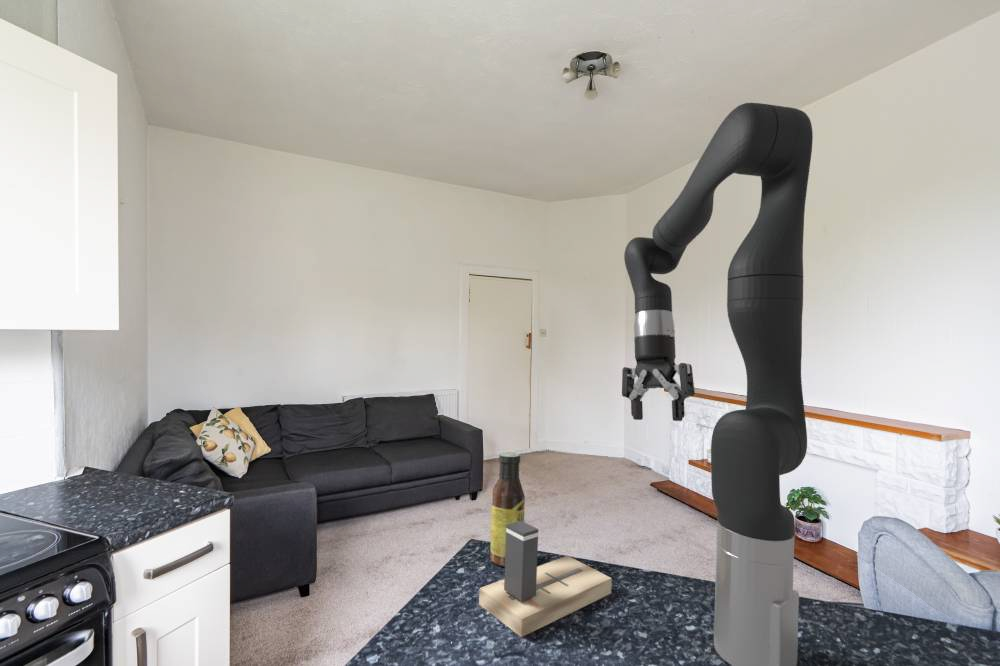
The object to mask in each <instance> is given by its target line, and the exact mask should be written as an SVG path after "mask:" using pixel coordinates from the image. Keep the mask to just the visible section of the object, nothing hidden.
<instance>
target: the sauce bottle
mask: <svg viewBox="0 0 1000 666" xmlns="http://www.w3.org/2000/svg"><path fill="white" fill-rule="evenodd" d="M498 462H499V473H498V477H499V478H498V480H497V481H496V483H495V484H494V487H493V488H492V503H491V515H490V516H491V519H490V521H491V522H490V555H489V556H490V560H491V562H492V563H494V564H495V565H497V566H500V567H505V551H506V525H507V524H511V523H515V522H518V521H523V522H525V507H526V506H525V505H526V504H525V503H526V501H525V500H526V495H525V492H524V490H523V487H522V482H521V480H520V463H521V454H520V453H516V452H512V451H511V452H510V451H509V452H507V451H506V452H501V453H498Z"/></svg>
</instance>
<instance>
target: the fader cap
mask: <svg viewBox="0 0 1000 666" xmlns="http://www.w3.org/2000/svg"><path fill="white" fill-rule="evenodd" d="M538 547H539V529H538V528H537V527H535V526H534V525H533V526H532V525H531V524H529V523H526V522H525V521H524V522H523V521H518V522H515V523H511V524H507V525H506V551H505V566H504V590H505V591H507V592H508V593H509V594H511V595H512V596H514V597H515V598H517V599H518V600H520V601H524V600H526V599H528V598H531V597H533V596H535V595H536V579H537V567H538V549H539V548H538Z"/></svg>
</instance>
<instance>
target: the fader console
mask: <svg viewBox="0 0 1000 666" xmlns="http://www.w3.org/2000/svg"><path fill="white" fill-rule="evenodd" d="M612 581H613V579H612V577H610V576H608V575H606V574H604V573H602V572H600V571H599V570H597V569H594V568H592V567H591V566H588V565H587V564H585V563H583V562H581V561H580V560H577V559H575V558H573V557H572V556H570V555H565V556H563V557H560V558H557V559H554V560H551V561H548V562H546V563H544V564H540V565H537V579H536V595H535V596H533V597H531V598H528V599H526V600H524V601H520V600H518V599H517V598H515V597H514V596H512V595H511V594H509V593H508V592H507V591H505V590H504V579H500V580H498V581H495V582H493V583H490V584H487V585H485V586H482V587H479V591H478V592H479V593H478V605H479V606H480V607H482V608H483V609H484V610H486V612H488V613H489V614H491V615H492V616H493V617H494V618H496V619H497V620H498V621H500V622H501V623H502V624H504V625H505V626H506V627H508V628H509V629H510V630H511V631H512V632H514V633H515V634H516V635H517V636H519V637H520V638H523V637H525V636H526V635H529V634H531V633H533V632H535V631H537V630H539V629H541V628H544V627H545V626H547V625H550V624H551V623H554V622H556V621H558V620H559V619H562V618H564V617H566V616H568V615H570V614H571V613H575V612H576V611H578V610H580V609H582V608H584V607H586V606H589V605H591V604H592V603H595V602H597V601H599V600H601V599H603V598H605V597H607V596H609V595H611V594H612V586H613V585H612Z"/></svg>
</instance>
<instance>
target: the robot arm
mask: <svg viewBox="0 0 1000 666" xmlns="http://www.w3.org/2000/svg"><path fill="white" fill-rule="evenodd" d="M813 135H814V134H813V126H812V122H811V119H810V117H809V115H807V113H806V112H804V111H803V110H801V109H798V108H795V107H791V106H790V107H789V106H782V105H776V104H767V103H761V102H760V103H758V102H745V103H742V104H740V105H738V106H737V107H735V108H733V109H732V110H731V111H730V112H729V113H728V115H727V116H725V118H724V119H723V121H722V122H721V124H720V125H719V127H718V128H717V129H716V131H715V132H714V134H713V136H712V137H711V139H710V141H709V143H708V144H707V146H706V148H705V150H704V152H703V154H702V155H701V157H700V158H699V160H698V161H697V164H696V165H695V168H694V169H693V170H692V172H691V175H690V176H689V178H688V180H687V182H686V184H685V185H684V187H683V188H682V190H681V191H680V194H678V197H677V198H676V199H675V200H674V202H673V203H672V204H671V205H670V206H669V207H668V209H667V210H666V211H665V212H664V213H663V215H662V216H661V217H660V219H658V221H656V224H655V225H654V227H653V228H652V229H653V230H652V237H645V236H644V237H643V236H639V237H634V238H632V239H631V240H630V241H629V242H628V243H627V245H626V247H625V250H624V255H623V257H624V258H623V259H624V265H625V268H626V272H627V275H628V277H629V281H630V284H631V289H632V290H633V295H634V323H633V332H634V333H633V335H634V337H633V338H634V339H633V341H634V359H635V361H636V366H635V367H627V366H626V367H623V368H622V372H621V373H622V374H621V375H622V377H621V380H622V381H621V396H622V398H623V397H624V398H627V399H628V400H630V411H631V413H630V414H631V416H632V419H633V420H634V421H635V420H637V421H639V420H641V421H642V420H643V419H644V418H643V417H644V415H643V410H644V409H643V400H642V398H643V397H644V396H645V394H646V393H647V392H648V391H650V389H657V388H658V389H664V390H665V391H667V392H668V393H669V395H670V396H671V397H672V399H673V400H671V412H672V414H671V415H672V420H673V421H674V422H682V421H683V419H684V418H685V416H686V414H685V413H686V412H685V411H686V409H685V400H686V399H687V398H690V397H694V396H695V394H696V393H695V383H694V376H693V375H694V373H693V367H692V364H690V363H685V362H680V363H679V364H676V362H675V361H676V360H675V359H676V357H677V356H676V337H675V333H676V331H675V322H674V316H673V298H672V289H671V287H670V286H669V284H667V283H664V282H661V281H658V280H657V279H655V278H654V277H653V276H652V274H654V275H667V274H669V273H672V272H673V271H675V270H676V268H677V267H678V265H679V263H680V261H681V260H682V257H683V255H684V253H685V251H686V248H687V247H688V246H689V244H691V243H692V242H693V241H694V240H695V238H696V237H697V236H699V235H700V234H701V233H702V232H703V231H704V229H706V227H707V226H708V225H709V222H710V220H711V218H712V215H713V212H714V211H713V210H714V209H713V208H714V197H715V191H716V189H717V188H718V187H719V186H720V184H722V182H724V181H725V180H726V179H727V178H729V177H730V176H731V175H733V174H737V175H745V176H751V177H752V176H753V177H760V181H761V195H760V196H761V198H760V206H759V209H758V214H757V217H756V220H755V222H754V224H753V225H752V226H751V228H750V230H749V232H748V233H747V234H746V236H745V237H744V239H743V240H742V242H741V243H740V245H739V246H738V248H737V250H736V251H735V252H734V255H733V256H732V259H731V261H730V263H729V265H728V270H727V271H728V272H727V287H726V288H727V289H726V291H727V292H726V293H727V295H726V296H727V297H726V309H727V310H726V311H727V318H728V321H729V324H730V325H729V326H730V329H731V331H732V334H733V336H734V338H735V342H736V344H737V347H738V349H739V352H740V354H741V357H742V359H743V362H744V366H745V372H746V403H745V408H744V409H735V410H731V411H729V412H727V413H725V414H724V415H722V416H721V417H720V418H718V420H717V422H716V424H715V426H714V428H713V430H712V433H711V434H712V436H711V442H710V471H711V472H710V473H711V474H710V475H711V476H710V477H711V479H710V480H711V494H712V496H711V497H712V499H713V502H714V504H715V507H716V511H717V513H716V515H717V517H716V518H717V521H716V522H717V524H716V551H715V552H716V553H715V581H714V582H715V583H714V585H715V586H714V587H715V589H714V590H715V591H714V620H713V621H714V623H713V646H714V649H715V651H716V653H717V654H718V655H719V657H720V658H722V660H723V661H725V662H726V663H728V664H729V665H730V666H798V648H799V647H798V642H799V641H798V640H799V638H798V637H799V601H800V600H799V599H800V597H799V596H800V594H799V592H798V591H797V590H795V589H794V561H795V559H794V557H795V533H796V532H795V531H796V530H795V528H796V526H795V525H796V523H795V516H794V514H793V512H792V511H791V510H790V509H789V508H788V507H787V506H784V505H782V503H781V491H780V489H781V487H780V486H781V485H780V476H783V475H786V474H789V473H791V472H793V471H795V470H796V469H797V468H799V466H801V465H802V463H803V461H804V459H805V458H806V455H807V451H808V450H807V449H808V432H807V431H808V430H807V423H806V412H805V404H804V403H805V402H804V395H803V384H802V357H803V356H802V354H803V353H802V351H803V350H802V349H803V346H802V345H803V308H804V255H803V253H804V230H805V213H806V212H805V211H806V200H807V199H806V198H807V191H808V184H809V177H810V169H811V161H812V160H811V159H812V152H813V140H814V136H813ZM676 374H678V376H679V382H680V383H678V382H677V380H676V379H675V378H674V377H675V375H676ZM635 378H637V379H636V381H635Z"/></svg>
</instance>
